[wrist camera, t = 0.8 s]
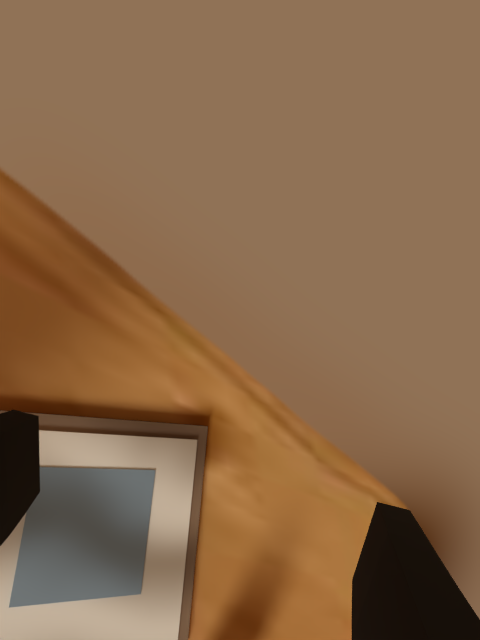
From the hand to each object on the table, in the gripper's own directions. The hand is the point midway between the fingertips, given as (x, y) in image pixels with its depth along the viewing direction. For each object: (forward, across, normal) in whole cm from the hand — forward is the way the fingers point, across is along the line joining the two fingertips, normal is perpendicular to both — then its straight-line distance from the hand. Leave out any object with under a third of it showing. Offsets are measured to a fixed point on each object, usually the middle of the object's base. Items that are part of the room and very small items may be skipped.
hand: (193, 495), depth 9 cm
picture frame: (+8, +9, +12) cm, 17 cm away
